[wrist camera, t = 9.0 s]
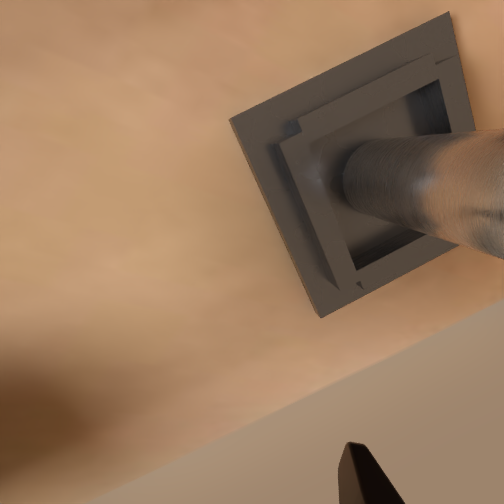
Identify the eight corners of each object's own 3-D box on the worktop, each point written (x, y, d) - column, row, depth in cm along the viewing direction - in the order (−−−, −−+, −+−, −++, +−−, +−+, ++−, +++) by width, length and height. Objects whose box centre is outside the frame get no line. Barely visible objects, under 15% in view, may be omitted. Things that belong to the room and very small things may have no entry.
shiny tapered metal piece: (330, 197, 19) (679, 300, 6) (365, 125, 18) (857, 45, 5) (390, 226, 20) (803, 369, 7) (424, 158, 19) (963, 167, 6)
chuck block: (315, 312, 21) (331, 330, 19) (228, 119, 18) (235, 114, 15) (486, 222, 22) (519, 230, 20) (437, 17, 18) (472, -2, 16)
